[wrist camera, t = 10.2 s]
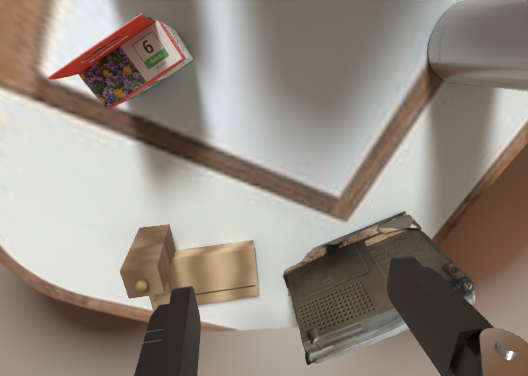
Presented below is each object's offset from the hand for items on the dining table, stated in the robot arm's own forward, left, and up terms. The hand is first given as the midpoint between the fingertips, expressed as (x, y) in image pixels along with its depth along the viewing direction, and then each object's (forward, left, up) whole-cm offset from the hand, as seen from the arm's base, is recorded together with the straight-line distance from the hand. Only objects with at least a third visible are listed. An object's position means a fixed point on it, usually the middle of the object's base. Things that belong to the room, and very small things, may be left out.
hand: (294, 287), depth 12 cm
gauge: (+13, +18, -28) cm, 36 cm away
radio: (-15, +23, -28) cm, 39 cm away
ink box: (+9, -8, -28) cm, 31 cm away
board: (+8, +21, -28) cm, 36 cm away
